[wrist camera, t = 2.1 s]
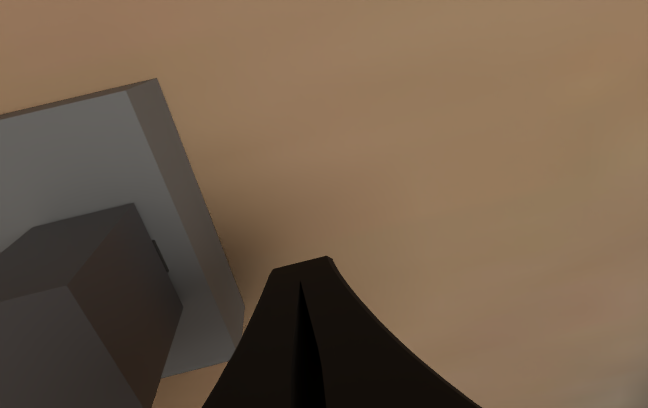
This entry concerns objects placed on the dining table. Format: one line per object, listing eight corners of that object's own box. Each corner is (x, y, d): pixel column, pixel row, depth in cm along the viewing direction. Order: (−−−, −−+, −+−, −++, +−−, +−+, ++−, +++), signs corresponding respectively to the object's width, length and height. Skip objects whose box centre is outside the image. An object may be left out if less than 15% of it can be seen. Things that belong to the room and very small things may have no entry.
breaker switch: (183, 307, 13) (148, 415, 9) (95, 329, 13) (25, 447, 9) (133, 202, 11) (66, 284, 7) (32, 227, 11) (-86, 323, 7)
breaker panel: (244, 306, 17) (238, 368, 14) (1, 367, 17) (-63, 446, 14) (157, 78, 13) (118, 93, 10) (-173, 155, 12) (-324, 197, 9)
